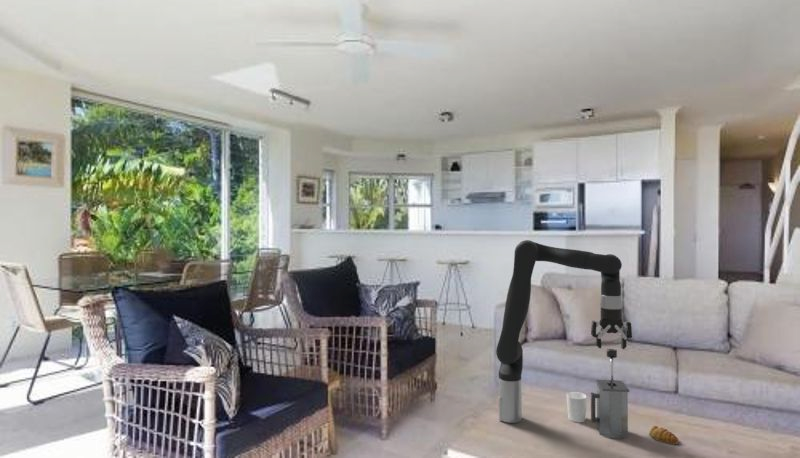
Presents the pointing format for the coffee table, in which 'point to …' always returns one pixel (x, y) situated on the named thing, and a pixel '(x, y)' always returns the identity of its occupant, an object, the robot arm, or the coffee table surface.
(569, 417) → the white cup
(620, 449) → the coffee table surface
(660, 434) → the pastry
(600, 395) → the square french press
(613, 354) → the plunger
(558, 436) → the coffee table surface
